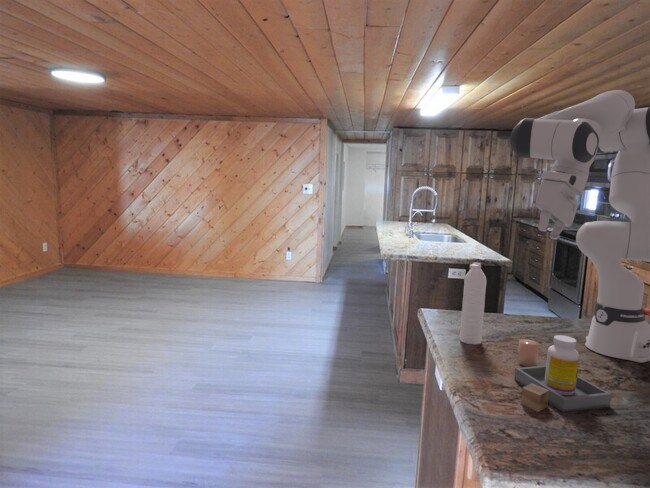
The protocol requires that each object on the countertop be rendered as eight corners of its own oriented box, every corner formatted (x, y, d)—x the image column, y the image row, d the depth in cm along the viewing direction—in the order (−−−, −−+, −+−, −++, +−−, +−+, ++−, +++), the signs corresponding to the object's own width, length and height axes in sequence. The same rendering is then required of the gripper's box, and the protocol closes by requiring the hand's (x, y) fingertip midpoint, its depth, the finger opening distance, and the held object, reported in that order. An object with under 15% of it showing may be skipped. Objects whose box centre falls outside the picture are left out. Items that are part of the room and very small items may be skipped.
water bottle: (461, 336, 140) (467, 260, 136) (483, 340, 137) (489, 262, 133) (456, 344, 132) (462, 264, 128) (478, 349, 129) (485, 267, 125)
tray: (555, 375, 113) (557, 364, 112) (609, 406, 98) (611, 393, 97) (514, 379, 110) (515, 368, 109) (563, 412, 94) (564, 399, 94)
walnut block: (530, 399, 100) (532, 383, 99) (547, 407, 97) (549, 390, 96) (520, 404, 98) (522, 387, 97) (538, 412, 94) (539, 395, 94)
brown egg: (528, 358, 123) (530, 338, 122) (541, 366, 118) (543, 345, 117) (513, 360, 122) (515, 339, 121) (525, 367, 117) (527, 346, 116)
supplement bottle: (579, 398, 100) (586, 345, 98) (548, 394, 101) (554, 342, 99) (569, 385, 106) (575, 334, 104) (540, 382, 107) (545, 332, 105)
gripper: (563, 193, 121) (547, 240, 121) (540, 169, 106) (522, 222, 106) (588, 197, 116) (571, 245, 117) (568, 172, 102) (548, 228, 102)
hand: (547, 234), depth 111 cm, fingers open, 8 cm apart
